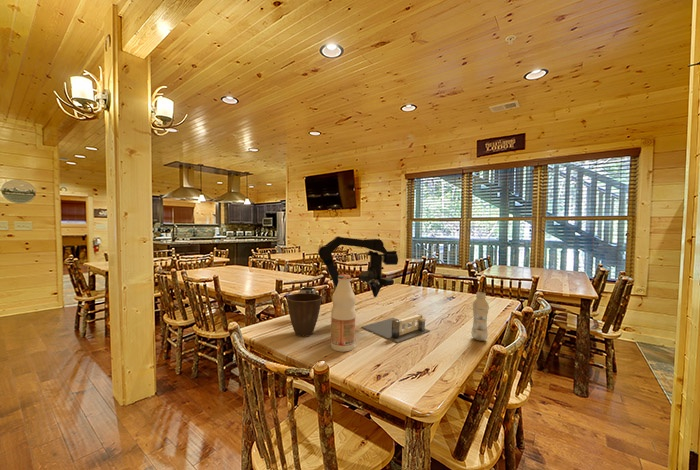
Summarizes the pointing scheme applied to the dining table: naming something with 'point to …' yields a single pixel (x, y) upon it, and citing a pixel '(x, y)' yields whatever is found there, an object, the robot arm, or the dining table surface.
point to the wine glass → (308, 290)
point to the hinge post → (395, 329)
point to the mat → (385, 330)
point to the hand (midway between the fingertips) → (375, 296)
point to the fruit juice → (343, 316)
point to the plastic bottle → (480, 317)
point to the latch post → (421, 324)
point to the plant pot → (304, 312)
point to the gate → (406, 321)
